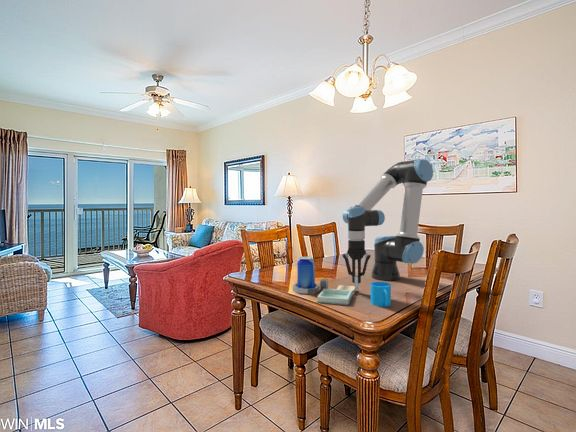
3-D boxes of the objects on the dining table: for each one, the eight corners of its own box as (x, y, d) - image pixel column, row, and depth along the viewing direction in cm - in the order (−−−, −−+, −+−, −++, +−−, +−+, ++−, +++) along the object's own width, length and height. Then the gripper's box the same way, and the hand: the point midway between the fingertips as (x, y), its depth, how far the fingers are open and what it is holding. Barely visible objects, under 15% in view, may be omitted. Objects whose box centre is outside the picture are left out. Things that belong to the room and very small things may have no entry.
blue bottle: (316, 288, 155) (316, 256, 154) (312, 293, 147) (312, 259, 146) (300, 287, 158) (300, 255, 157) (295, 291, 150) (295, 258, 149)
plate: (355, 291, 150) (355, 286, 150) (353, 296, 143) (353, 290, 143) (339, 290, 153) (339, 284, 153) (336, 294, 146) (336, 289, 145)
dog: (328, 289, 153) (328, 279, 153) (326, 291, 149) (326, 281, 149) (322, 288, 154) (322, 278, 153) (320, 291, 150) (320, 280, 150)
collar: (321, 287, 156) (321, 282, 156) (315, 294, 144) (315, 289, 144) (297, 285, 160) (297, 281, 160) (290, 292, 148) (290, 287, 148)
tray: (352, 296, 142) (352, 290, 142) (348, 305, 129) (348, 299, 129) (323, 293, 146) (323, 288, 146) (317, 302, 134) (317, 296, 133)
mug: (367, 300, 135) (367, 282, 134) (386, 300, 136) (386, 281, 135) (378, 310, 123) (378, 290, 123) (398, 309, 124) (398, 289, 123)
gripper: (371, 239, 147) (371, 288, 148) (343, 238, 151) (343, 286, 152) (370, 241, 139) (370, 293, 141) (341, 240, 144) (341, 290, 145)
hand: (356, 289), depth 146 cm, fingers closed
